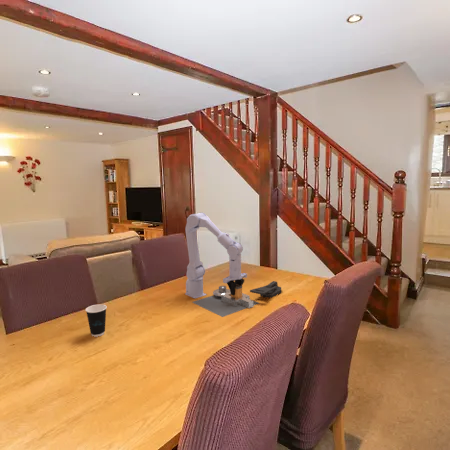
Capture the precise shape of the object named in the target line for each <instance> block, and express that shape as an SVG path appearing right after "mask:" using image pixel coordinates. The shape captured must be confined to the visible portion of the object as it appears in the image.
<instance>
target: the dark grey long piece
mask: <svg viewBox="0 0 450 450" xmlns="http://www.w3.org/2000/svg"><path fill="white" fill-rule="evenodd" d="M249 293H253V294H256V295H259V296H261V297H263V298H273V297H276V295H277V294H278V295H280V294H282V287H281V286H279V284H278V281H276V280H275V281H270V283H268V284H267V285H264V286H260V287H257V288H252V289H249ZM279 293H280V294H279ZM278 295H277V296H278Z"/></svg>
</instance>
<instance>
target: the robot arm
mask: <svg viewBox="0 0 450 450" xmlns="http://www.w3.org/2000/svg"><path fill="white" fill-rule="evenodd" d="M200 228H206V229H207V230H208V231H209V232H211V234H213V235H214V236H215V237H216V238H217V242H218V243H220V245H221V246H223V247H224V248H225V250H226V252H227V254H228V256H229V257H228V258H229V261H228V263H229V275H228V276H226V277H224V278H222V283H224V284H227V286H228V289H229V290H230V292H231V295H235V287H236V284H238V285H241V286H242V287H243V284H244V283H245V279H244V278H248V273H245V272H243V273H242V254H241V253H242V252H243V249H244V248H243V245H242V244H241V243H240V242H237V241H236V240H234V239H233V238H232V237H231V236H230V234H229V233H226V232H223V231H221V230H220V228H219V227H218V226H217V225H216V224H215V223H214V222H213V221H212V220H211V219H210V217H209V216H208V215H207V214H206V213H205V212H203V211H202V212H199V213H192V214H190V215H188V217H187V218H186V224H185V236H186V237H185V238H186V245H187V251H188V252H187V254H188V260H189V261H188V262H189V263H188V264H187V266H186V278H187V279H186V282H185V293H184V294H185V295H186V296H188V297H190V298H193V299H197V298H198V299H199V298H202V297H204V296H207V293H204V275H205V274H206V268H205V267H204V264H203V262H202V261H201V259H200V251H199V242H198V236H197V235H198V234H197V231H198V230H199V229H200Z"/></svg>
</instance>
